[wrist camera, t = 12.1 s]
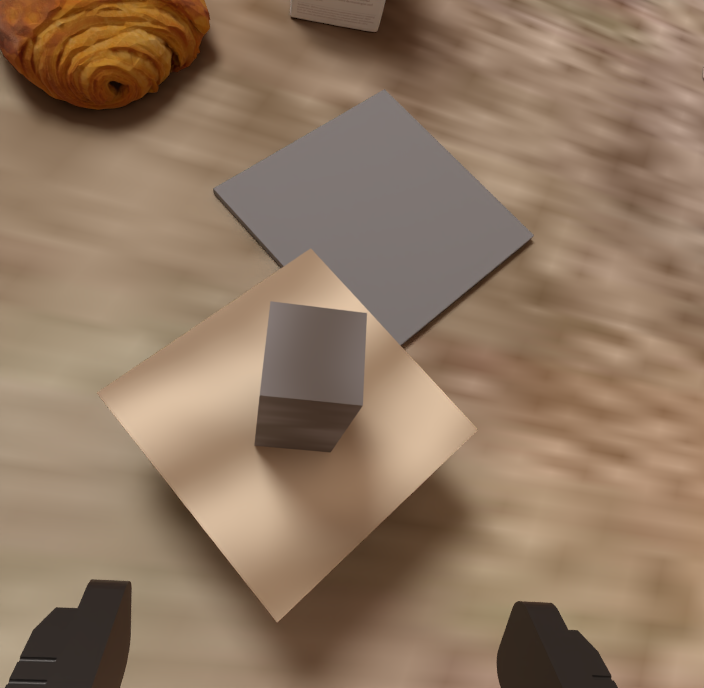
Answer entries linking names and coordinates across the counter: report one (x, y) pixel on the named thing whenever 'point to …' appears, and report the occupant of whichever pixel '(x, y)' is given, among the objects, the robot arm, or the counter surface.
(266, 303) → the lid
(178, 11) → the croissant
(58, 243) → the counter surface
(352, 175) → the mat
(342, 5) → the supplement box
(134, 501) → the counter surface
